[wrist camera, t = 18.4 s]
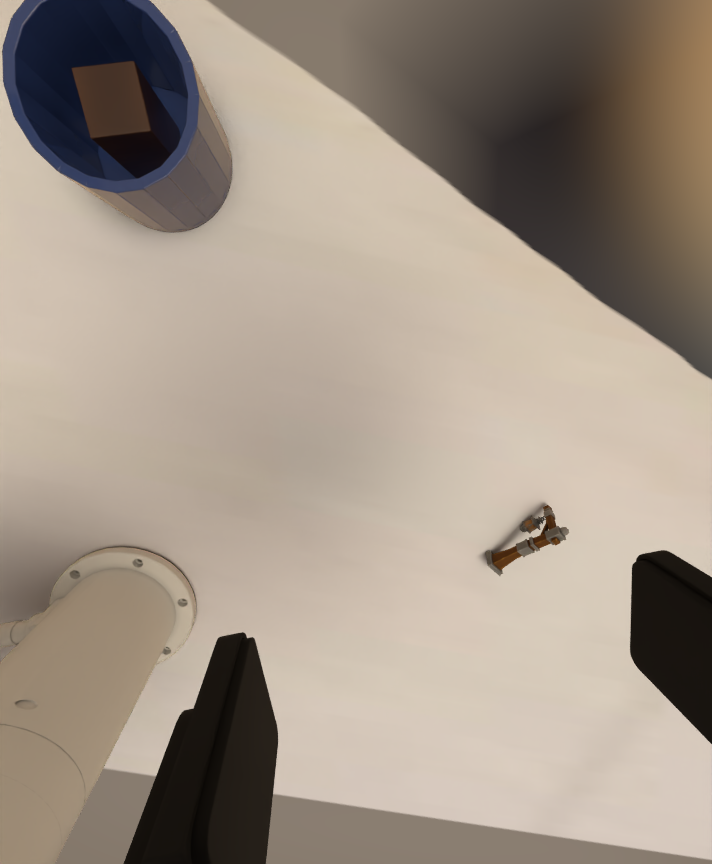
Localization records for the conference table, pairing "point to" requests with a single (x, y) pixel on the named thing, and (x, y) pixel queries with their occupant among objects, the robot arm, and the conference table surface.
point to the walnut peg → (126, 116)
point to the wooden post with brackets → (529, 541)
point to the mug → (64, 118)
